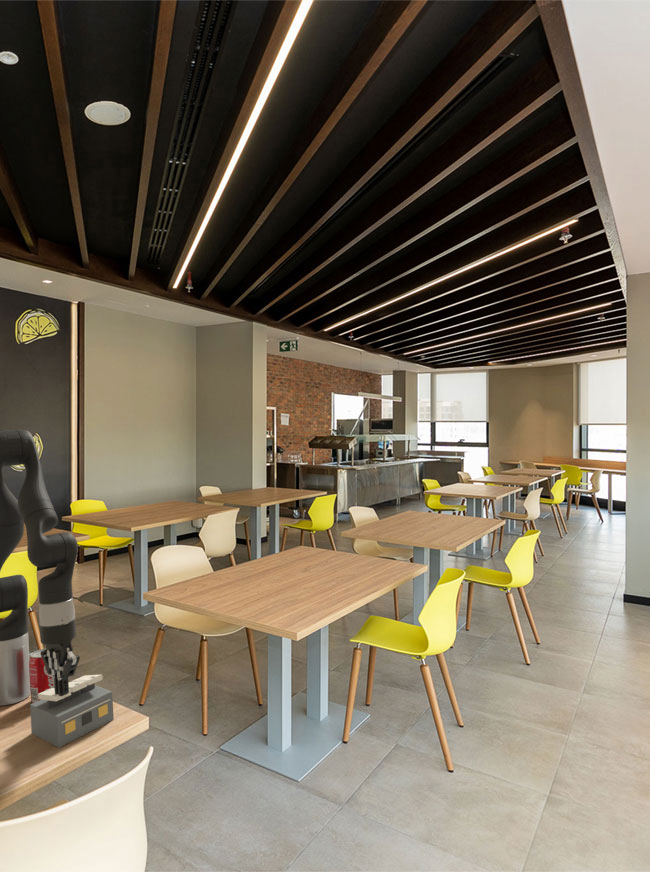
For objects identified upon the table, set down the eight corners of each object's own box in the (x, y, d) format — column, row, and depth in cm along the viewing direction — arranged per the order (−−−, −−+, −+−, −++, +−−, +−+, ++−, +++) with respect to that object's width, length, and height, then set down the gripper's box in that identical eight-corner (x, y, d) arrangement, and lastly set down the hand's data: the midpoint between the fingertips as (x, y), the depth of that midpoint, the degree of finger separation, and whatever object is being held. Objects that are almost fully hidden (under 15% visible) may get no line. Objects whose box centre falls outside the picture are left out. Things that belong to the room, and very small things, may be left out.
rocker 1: (38, 699, 130) (37, 693, 130) (53, 692, 132) (52, 687, 133) (56, 701, 125) (55, 695, 125) (71, 694, 128) (70, 689, 128)
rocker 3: (72, 686, 136) (71, 680, 137) (85, 680, 139) (84, 675, 140) (89, 685, 132) (88, 679, 132) (102, 679, 135) (101, 673, 135)
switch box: (31, 733, 130) (29, 697, 130) (85, 707, 141) (84, 674, 141) (59, 748, 123) (57, 709, 123) (114, 719, 135) (112, 684, 135)
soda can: (48, 707, 143) (45, 658, 143) (24, 706, 144) (22, 657, 144) (66, 694, 150) (64, 647, 150) (43, 693, 151) (41, 646, 151)
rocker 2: (55, 693, 133) (54, 687, 133) (69, 687, 136) (68, 681, 136) (73, 692, 129) (72, 686, 129) (87, 686, 132) (86, 680, 132)
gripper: (26, 621, 128) (30, 695, 127) (57, 628, 120) (62, 707, 120) (57, 611, 134) (61, 682, 134) (88, 618, 126) (93, 693, 126)
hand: (62, 693), depth 127 cm, fingers closed
